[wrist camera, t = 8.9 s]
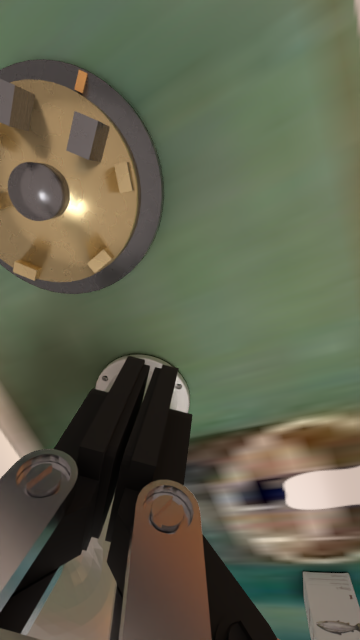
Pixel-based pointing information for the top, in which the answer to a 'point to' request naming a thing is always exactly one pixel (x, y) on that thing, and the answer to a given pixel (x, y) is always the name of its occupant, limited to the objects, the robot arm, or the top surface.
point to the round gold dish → (62, 183)
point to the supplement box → (331, 606)
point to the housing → (141, 151)
